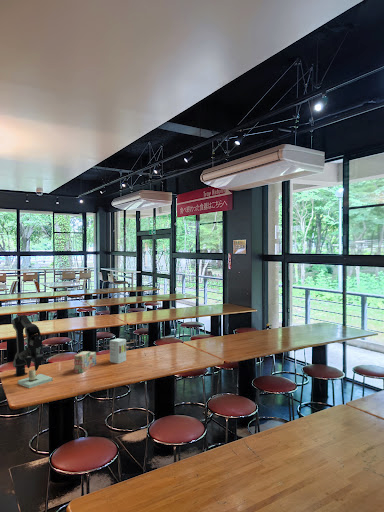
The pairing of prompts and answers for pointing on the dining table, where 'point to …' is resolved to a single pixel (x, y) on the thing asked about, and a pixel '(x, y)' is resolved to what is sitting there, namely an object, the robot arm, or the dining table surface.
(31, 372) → the peg
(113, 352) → the supplement box
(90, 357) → the beige multicoloured rectangular block
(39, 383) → the board
